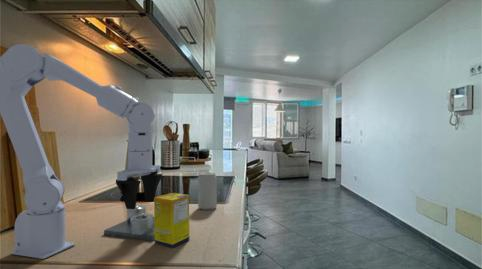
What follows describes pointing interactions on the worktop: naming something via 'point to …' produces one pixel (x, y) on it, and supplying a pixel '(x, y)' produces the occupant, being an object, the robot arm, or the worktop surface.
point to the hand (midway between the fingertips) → (140, 205)
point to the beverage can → (207, 191)
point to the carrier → (125, 227)
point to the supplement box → (171, 219)
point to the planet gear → (141, 224)
